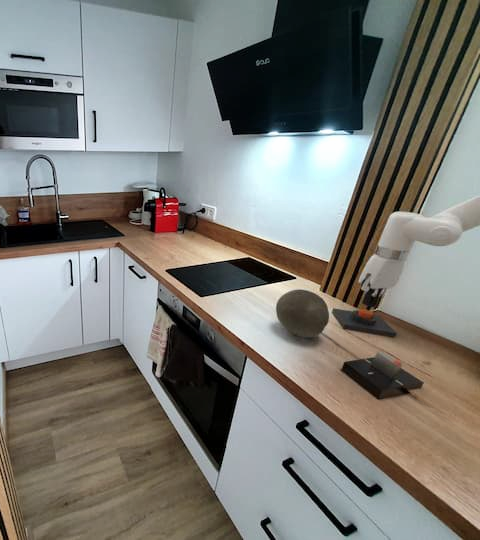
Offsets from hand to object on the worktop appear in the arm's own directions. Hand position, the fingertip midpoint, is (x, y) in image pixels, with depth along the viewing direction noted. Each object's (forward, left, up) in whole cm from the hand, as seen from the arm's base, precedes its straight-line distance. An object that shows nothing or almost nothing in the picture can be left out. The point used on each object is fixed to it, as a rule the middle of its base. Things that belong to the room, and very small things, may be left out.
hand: (368, 305), depth 94 cm
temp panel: (+19, +21, -9) cm, 30 cm away
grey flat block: (0, 0, -9) cm, 9 cm away
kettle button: (0, 0, -4) cm, 4 cm away
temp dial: (+19, +21, -6) cm, 29 cm away
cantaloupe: (+25, -1, -9) cm, 27 cm away
